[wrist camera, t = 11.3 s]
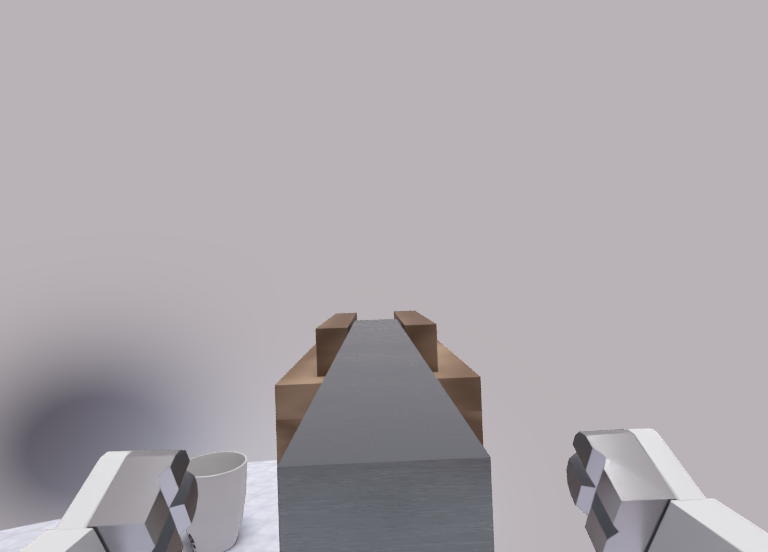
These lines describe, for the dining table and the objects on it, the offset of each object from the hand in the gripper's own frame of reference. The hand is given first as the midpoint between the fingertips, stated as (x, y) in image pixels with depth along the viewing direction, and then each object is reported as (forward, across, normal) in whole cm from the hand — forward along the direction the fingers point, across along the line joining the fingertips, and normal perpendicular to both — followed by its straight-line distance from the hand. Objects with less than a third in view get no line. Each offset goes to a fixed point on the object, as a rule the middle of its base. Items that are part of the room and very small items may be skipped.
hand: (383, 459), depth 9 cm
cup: (+27, -21, -48) cm, 59 cm away
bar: (+8, 0, -6) cm, 10 cm away
